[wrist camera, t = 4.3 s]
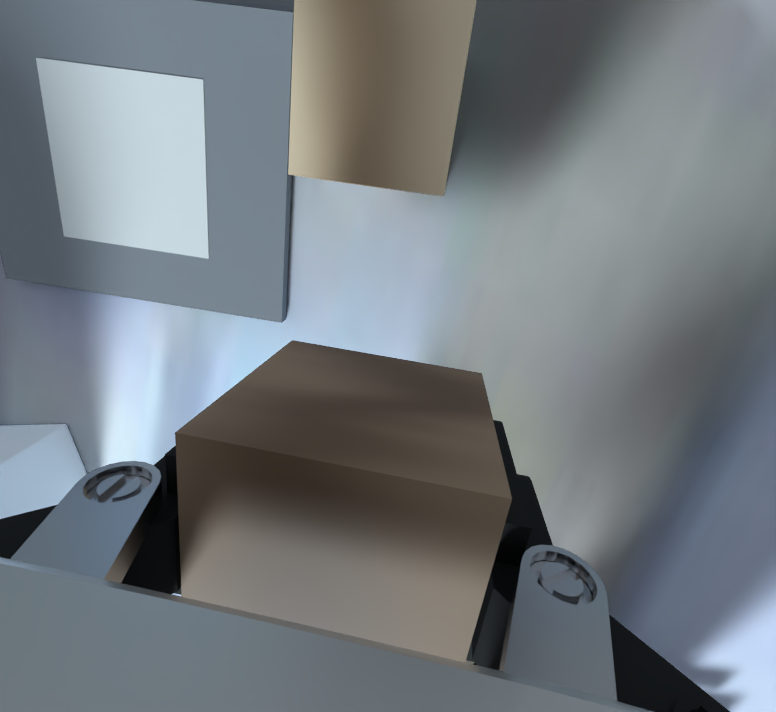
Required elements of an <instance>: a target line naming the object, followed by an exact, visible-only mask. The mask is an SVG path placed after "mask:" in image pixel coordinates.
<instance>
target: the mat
mask: <svg viewBox="0 0 776 712" xmlns="http://www.w3.org/2000/svg"><path fill="white" fill-rule="evenodd" d="M293 22H294V13H293V12H286V11H278V10H269V9H261V8H253V7H244V6H236V5H228V4H219V3H211V2H203V1H195V0H0V252H1V257H2V262H3V266H4V271H5V275H6V278H9V279H16V280H22V281H28V282H34V283H40V284H46V285H53V286H59V287H65V288H71V289H77V290H84V291H90V292H96V293H102V294H108V295H114V296H121V297H127V298H133V299H139V300H145V301H152V302H158V303H164V304H170V305H176V306H182V307H189V308H195V309H201V310H207V311H213V312H220V313H226V314H232V315H238V316H244V317H250V318H257V319H263V320H269V321H275V322H281V323H282V322H283V321H284V320H285V319H286V304H287V280H288V255H289V230H290V206H291V181H292V175H289V174H288V166H289V137H290V108H291V80H292V51H293Z"/></svg>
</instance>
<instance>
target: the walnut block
mask: <svg viewBox="0 0 776 712" xmlns="http://www.w3.org/2000/svg"><path fill="white" fill-rule="evenodd" d="M175 438H176V464H177V490H178V516H179V542H180V568H181V594H182V597H185V598H189V599H194V600H198V601H202V602H207V603H211V604H216V605H220V606H224V607H229V608H233V609H237V610H242V611H246V612H251V613H255V614H259V615H264V616H268V617H272V618H277V619H281V620H285V621H290V622H294V623H298V624H303V625H307V626H311V627H316V628H320V629H324V630H329V631H333V632H337V633H342V634H346V635H350V636H355V637H359V638H363V639H367V640H372V641H376V642H380V643H384V644H389V645H393V646H397V647H401V648H406V649H410V650H414V651H418V652H422V653H427V654H431V655H435V656H439V657H444V658H448V659H452V660H456V661H461V662H466V658H467V655H468V651H469V648H470V644H471V641H472V637H473V634H474V630H475V627H476V623H477V620H478V616H479V613H480V609H481V606H482V602H483V599H484V595H485V592H486V588H487V585H488V581H489V578H490V574H491V571H492V567H493V564H494V560H495V557H496V553H497V550H498V546H499V543H500V539H501V536H502V532H503V529H504V525H505V522H506V518H507V515H508V511H509V508H510V504H511V501H512V496H511V492H510V488H509V484H508V480H507V476H506V472H505V467H504V463H503V459H502V455H501V451H500V447H499V443H498V439H497V434H496V430H495V426H494V422H493V418H492V414H491V410H490V405H489V401H488V397H487V393H486V389H485V385H484V381H483V376H482V373H477V372H471V371H465V370H460V369H454V368H448V367H442V366H437V365H431V364H425V363H419V362H414V361H408V360H402V359H396V358H391V357H385V356H379V355H373V354H368V353H362V352H356V351H350V350H345V349H339V348H333V347H327V346H322V345H316V344H310V343H304V342H299V341H293V340H292V341H291V342H290V343H288V344H287V345H286V346H284V347H283V348H282V349H281V350H279V351H278V352H277V353H276V354H274V355H273V356H272V357H271V358H269V359H268V360H267V361H265V362H264V363H263V364H262V365H260V366H259V367H258V368H257V369H255V370H254V371H253V372H252V373H250V374H249V375H248V376H246V377H245V378H244V379H243V380H241V381H240V382H239V383H238V384H236V385H235V386H234V387H232V388H231V389H230V390H229V391H227V392H226V393H225V394H224V395H222V396H221V397H220V398H219V399H217V400H216V401H215V402H213V403H212V404H211V405H210V406H208V407H207V408H206V409H205V410H203V411H202V412H201V413H199V414H198V415H197V416H196V417H194V418H193V419H192V420H191V421H189V422H188V423H187V424H186V425H184V426H183V427H182V428H180V429H179V430H178V431H177V432H175Z"/></svg>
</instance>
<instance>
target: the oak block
mask: <svg viewBox="0 0 776 712" xmlns="http://www.w3.org/2000/svg"><path fill="white" fill-rule="evenodd" d="M476 2H477V0H294V22H293V51H292V80H291V108H290V137H289V166H288V174H289V175H295V176H301V177H308V178H314V179H321V180H327V181H335V182H342V183H349V184H356V185H363V186H371V187H378V188H385V189H392V190H400V191H407V192H414V193H421V194H429V195H436V196H444V194H445V188H446V182H447V176H448V170H449V164H450V158H451V152H452V146H453V140H454V134H455V128H456V122H457V116H458V110H459V104H460V98H461V92H462V86H463V80H464V74H465V68H466V62H467V56H468V50H469V44H470V38H471V32H472V26H473V20H474V14H475V8H476Z"/></svg>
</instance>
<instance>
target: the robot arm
mask: <svg viewBox="0 0 776 712" xmlns="http://www.w3.org/2000/svg"><path fill="white" fill-rule="evenodd" d="M493 422H494V426H495V430H496V434H497V439H498V443H499V447H500V451H501V455H502V459H503V463H504V467H505V472H506V476H507V480H508V484H509V488H510V492H511V496H512V501H511V504H510V508H509V511H508V515H507V518H506V522H505V525H504V529H503V532H502V536H501V539H500V543H499V546H498V550H497V553H496V557H495V560H494V564H493V567H492V571H491V574H490V578H489V581H488V585H487V588H486V592H485V595H484V599H483V602H482V606H481V609H480V613H479V616H478V620H477V623H476V627H475V630H474V634H473V637H472V641H471V644H470V648H469V651H468V655H467V658H466V660H468V661H473V662H476V664H477V665H473V664H469V663H465V662H461V661H456V660H452V659H448V658H444V657H439V656H435V655H431V654H427V653H422V652H418V651H414V650H410V649H406V648H401V647H397V646H393V645H389V644H384V643H380V642H376V641H372V640H367V639H363V638H359V637H355V636H350V635H346V634H342V633H337V632H333V631H329V630H324V629H320V628H316V627H311V626H307V625H303V624H298V623H294V622H290V621H285V620H281V619H277V618H272V617H268V616H264V615H259V614H255V613H251V612H246V611H242V610H237V609H233V608H229V607H224V606H220V605H216V604H211V603H207V602H202V601H198V600H194V599H189V598H185V597H180V596H176V595H171V594H173V593H176V594H181V568H180V542H179V516H178V490H177V464H176V446H175V447H173V448H172V449H171V450H170V451H169V452H167V453H166V454H165V456H164V457H163V458H162V459H161V460H159V461H158V462H157V463H156V464H155V465H151V464H148V463H146V462H137V461H128V462H119V463H114V464H109V465H106V466H103V467H101V468H98V469H95V470H94V471H92V472H90V473H88V474H86V475H85V476H84V477H83V478H81V479H80V480H79V481H78V482H77V483H76V484H75V485H74V486H73V487H72V489H71V490H70V491H69V492H68V493H67V494H66V495H65V497H64V498H63V499H62V500H61V501H60V502H59V504H58V505H54V506H50V507H46V508H42V509H38V510H34V511H30V512H26V513H22V514H18V515H14V516H10V517H6V518H2V519H0V712H730V711H728V710H727V709H726V708H725V707H723V706H722V705H721V704H720V703H718V702H717V701H716V700H715V699H713V698H712V697H711V696H710V695H708V694H707V693H706V692H705V691H703V690H702V689H701V688H700V687H698V686H697V685H696V684H695V683H693V682H692V681H691V680H690V679H688V678H687V677H686V676H685V675H684V674H682V673H681V672H680V671H679V670H677V669H676V668H675V667H674V666H672V665H671V664H670V663H669V662H667V661H666V660H665V659H664V658H662V657H661V656H660V655H659V654H657V653H656V652H655V651H654V650H652V649H651V648H650V647H649V646H647V645H646V644H645V643H644V642H642V641H641V640H640V639H639V638H637V637H636V636H635V635H634V634H633V633H631V632H630V631H629V630H628V629H626V628H625V627H624V626H623V625H621V624H620V623H619V622H618V621H616V620H615V619H614V618H613V617H611V616H610V615H609V609H608V598H607V592H606V589H605V585H604V583H603V581H602V580H601V578H600V577H599V575H598V573H597V572H596V571H595V570H594V569H593V568H592V567H591V566H590V565H589V564H588V563H587V562H585V561H584V560H582V559H581V558H580V557H578V556H577V555H575V554H573V553H571V552H569V551H567V550H565V549H562V548H559V547H556V546H553V545H552V542H551V539H550V536H549V533H548V530H547V527H546V524H545V521H544V518H543V514H542V511H541V508H540V505H539V502H538V499H537V496H536V493H535V490H534V487H533V484H532V481H531V479H530V477H528V476H524V475H518V474H517V473H516V470H515V466H514V462H513V459H512V455H511V452H510V448H509V445H508V441H507V438H506V434H505V430H504V427H503V423H502V422H500V421H495V420H493ZM181 595H182V594H181Z"/></svg>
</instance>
